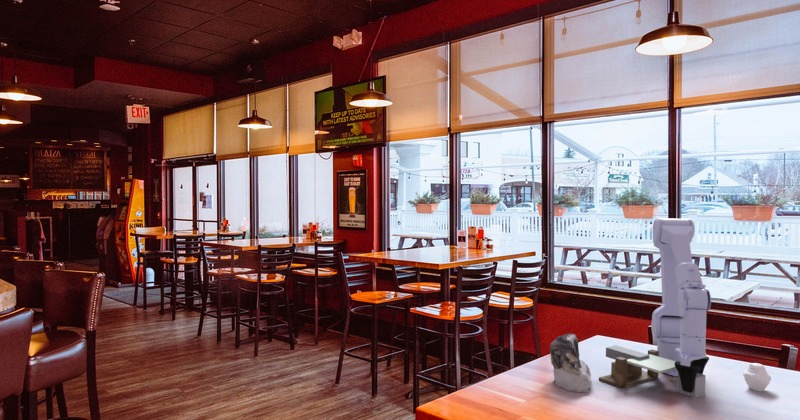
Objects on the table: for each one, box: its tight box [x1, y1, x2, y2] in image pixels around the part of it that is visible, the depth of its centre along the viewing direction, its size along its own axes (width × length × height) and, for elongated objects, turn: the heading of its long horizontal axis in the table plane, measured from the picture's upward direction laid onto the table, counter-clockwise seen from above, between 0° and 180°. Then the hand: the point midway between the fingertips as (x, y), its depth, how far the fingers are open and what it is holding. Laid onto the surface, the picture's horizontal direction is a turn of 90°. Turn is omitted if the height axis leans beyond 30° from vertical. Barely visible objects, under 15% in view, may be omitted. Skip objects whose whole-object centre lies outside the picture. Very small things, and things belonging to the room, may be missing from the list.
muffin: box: [742, 362, 772, 392], centre depth 140 cm, size 6×6×7 cm
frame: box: [598, 349, 659, 389], centre depth 147 cm, size 16×7×8 cm, turn 121°
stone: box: [549, 332, 593, 393], centre depth 142 cm, size 14×10×15 cm
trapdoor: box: [605, 345, 676, 374], centre depth 144 cm, size 11×18×3 cm, turn 31°
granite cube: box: [677, 373, 707, 399], centre depth 137 cm, size 4×4×5 cm
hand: (691, 387), depth 137 cm, fingers open, 7 cm apart
